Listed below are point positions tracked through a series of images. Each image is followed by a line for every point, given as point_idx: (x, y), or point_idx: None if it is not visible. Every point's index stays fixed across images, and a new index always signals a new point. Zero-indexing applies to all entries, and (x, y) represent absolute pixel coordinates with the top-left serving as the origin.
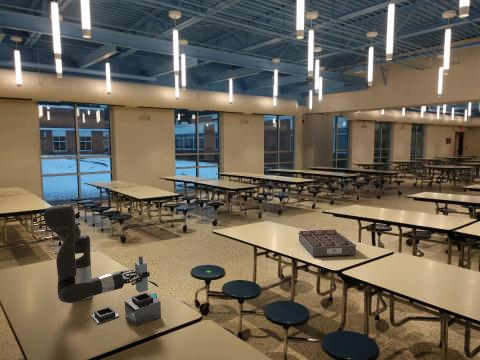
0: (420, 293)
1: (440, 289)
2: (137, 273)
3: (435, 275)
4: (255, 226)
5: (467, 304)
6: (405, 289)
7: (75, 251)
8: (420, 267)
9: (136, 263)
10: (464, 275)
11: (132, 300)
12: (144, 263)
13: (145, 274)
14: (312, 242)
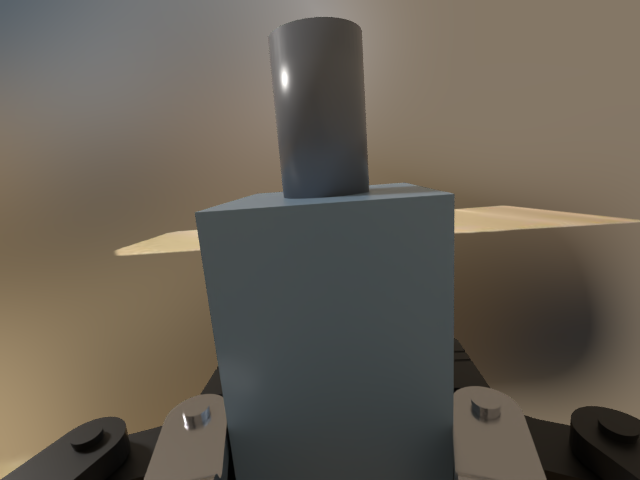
0: (549, 223)
1: (542, 217)
2: (359, 443)
3: (497, 213)
4: (166, 238)
5: (600, 217)
6: (528, 225)
7: None
8: (465, 213)
9: (273, 204)
10: (509, 208)
11: None
12: (395, 186)
13: (475, 369)
14: None
